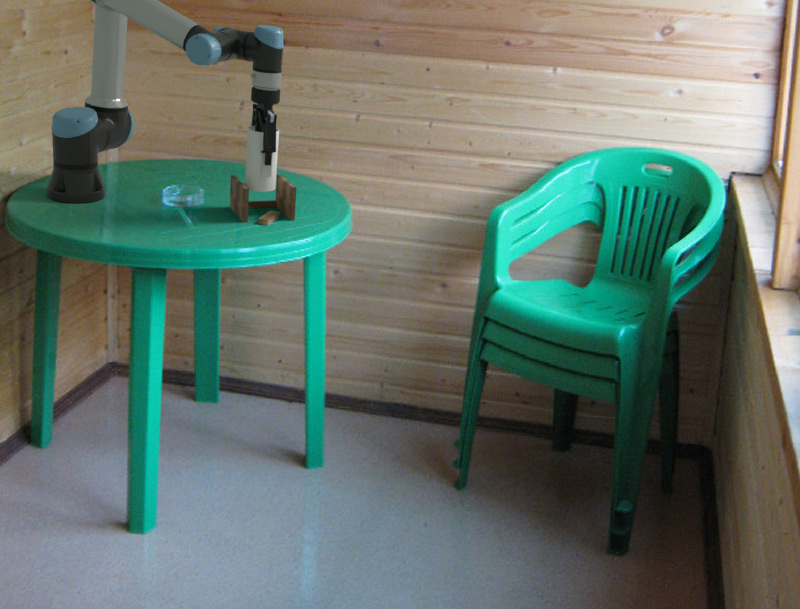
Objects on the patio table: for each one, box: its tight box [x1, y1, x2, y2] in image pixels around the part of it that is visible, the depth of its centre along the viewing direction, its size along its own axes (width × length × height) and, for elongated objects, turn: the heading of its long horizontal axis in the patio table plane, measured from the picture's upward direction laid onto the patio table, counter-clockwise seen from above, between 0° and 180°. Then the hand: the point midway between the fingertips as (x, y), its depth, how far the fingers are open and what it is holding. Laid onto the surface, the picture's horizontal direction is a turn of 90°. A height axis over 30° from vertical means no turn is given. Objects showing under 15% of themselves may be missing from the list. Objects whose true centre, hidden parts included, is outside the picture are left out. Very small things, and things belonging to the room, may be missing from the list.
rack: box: [229, 173, 297, 224], centre depth 285 cm, size 14×14×10 cm
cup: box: [244, 125, 280, 193], centre depth 282 cm, size 8×8×16 cm
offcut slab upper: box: [257, 210, 281, 226], centre depth 281 cm, size 3×9×2 cm, turn 166°
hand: (261, 171), depth 283 cm, fingers closed on cup, 8 cm apart
